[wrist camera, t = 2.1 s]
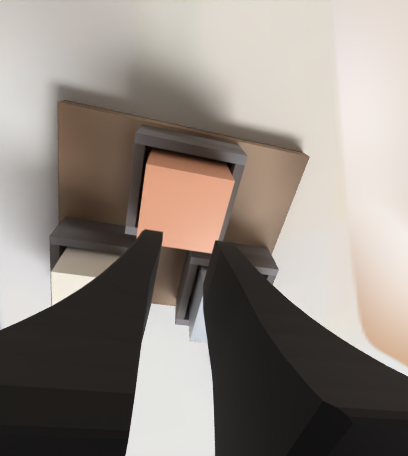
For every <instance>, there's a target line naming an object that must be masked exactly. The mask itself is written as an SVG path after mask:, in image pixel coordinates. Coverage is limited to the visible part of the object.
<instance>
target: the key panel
mask: <svg viewBox="0 0 408 456" xmlns="http://www.w3.org/2000/svg"><path fill="white" fill-rule="evenodd" d="M152 148H155V149H160V150H165V151H170V152H175V153H180V154H185V155H190V156H195V157H200V158H204V159H209V160H214V161H219V162H224V163H226V164H227V166H228V168H229V170H230V172H231V174H232V176H233V178H234V180H235V183H234V186H233V190H232V193H231V197H230V200H229V204H228V207H227V211H226V215H225V218H224V222H223V225H222V229H221V232H220V236H219V239H218V241H224V242H230V243H233V244H234V245H235V246H236V247H237V248H238V249H239V250H240V251H241V253H242V254H243V255H244V256H245V257H246V258H247V259H248V260H249V261H250V262H251V264H252V265H253V266H254V267H255V268H256V269H257V270H258V271H259V272H260V273H261V274H262V275H263V276H264V277H265V278H266V279H267V280H268V281H269V282H270V283H271V284H272V285H273V282H274V280H275V277H276V275H277V273H278V270H279V269H278V267H277V265H276V263H275V261H274V259H273V257H272V252H273V249H274V247H275V244H276V242H277V239H278V237H279V234H280V231H281V229H282V226H283V224H284V221H285V219H286V216H287V214H288V211H289V208H290V206H291V203H292V201H293V198H294V196H295V193H296V190H297V188H298V185H299V183H300V180H301V178H302V175H303V172H304V170H305V167H306V165H307V162H308V160H309V156H308V155H306V154H304V153H302V152H298V151H293V150H288V149H284V148H279V147H275V146H270V145H266V144H261V143H257V142H252V141H247V140H243V139H238V138H234V137H229V136H225V135H220V134H216V133H211V132H206V131H202V130H197V129H193V128H188V127H184V126H179V125H175V124H170V123H165V122H161V121H156V120H152V119H147V118H143V117H138V116H134V115H129V114H124V113H120V112H115V111H111V110H106V109H102V108H97V107H93V106H88V105H83V104H79V103H74V102H70V101H65V100H64V101H60V102H58V185H59V225H58V227H57V228H56V229H55V230H54V232H53V233H52V234H51V235H50V268H51V271H52V270H53V268H54V266H55V265H56V263H57V262H58V260H59V259H60V257H61V256H62V254H63V253H64V251H65V250H66V248H67V246H68V247H75V248H82V249H89V250H96V251H103V252H110V253H117V254H123V253H124V252H125V251H126V250H127V249H128V248H129V247H130V246H131V245H132V244H133V242H134V241H135V240H136V238H137V230H138V223H139V215H140V208H141V200H142V192H143V185H144V177H145V170H146V163H147V161H148V158H149V155H150V153H151V150H152ZM210 258H211V253H205V252H198V251H191V250H185V249H178V248H171V247H165V246H161V252H160V257H159V263H158V269H157V274H156V280H155V285H154V291H153V296H152V302H151V303H153V304H162V305H170V306H176V316H175V324H178V325H187V326H189V303H190V300H191V296H192V292H193V288H194V284H195V280H196V276H197V273H198V269H199V265H202V266H208V265H209V261H210ZM51 306H52V289H51Z"/></svg>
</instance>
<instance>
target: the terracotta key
mask: <svg viewBox="0 0 408 456" xmlns="http://www.w3.org/2000/svg"><path fill="white" fill-rule="evenodd" d="M234 183H235V180H234V178H233V176H232V174H231V172H230V170H229V168H228V166H227V164H226V163H224V162H219V161H214V160H209V159H204V158H200V157H195V156H190V155H185V154H180V153H175V152H170V151H165V150H160V149H155V148H152V150H151V153H150V155H149V158H148V161H147V163H146V170H145V177H144V185H143V192H142V200H141V208H140V215H139V223H138V230H137V238H138V236H139V235H140V233H141V232H142V231H143V230H145V229H148V230H154V231H161V232H163V241H162V246H165V247H171V248H178V249H185V250H191V251H198V252H205V253H211V254H212V250H213V247H214V243H215V240H218V239H219V236H220V232H221V229H222V225H223V222H224V218H225V215H226V211H227V207H228V204H229V200H230V197H231V193H232V190H233V186H234ZM137 238H136V239H137Z"/></svg>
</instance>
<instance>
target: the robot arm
mask: <svg viewBox="0 0 408 456" xmlns="http://www.w3.org/2000/svg"><path fill="white" fill-rule="evenodd" d="M162 241H163V232H161V231H154V230H148V229H145V230H143V231H142V232H141V233H140V235H139V236H138V238H137V239H136V240H135V241H134V242H133V244H132V245H131V246H130V247H129V248H128V249H127V250H126V251H125V252H124V253H123V254H122V255H121V256H120V257H119V258H118V259H117V260H116V261H115V262H114V263H113V264H111V265H110V266H109V267H108V268H107V269H106V270H105V271H103V272H102V273H101V274H100V275H98V276H97V277H96V278H94V279H93V280H92V281H90V282H89V283H88V284H86V285H85V286H83V287H82V288H80V289H79V290H77V291H76V292H74V293H72V294H71V295H69V296H68V297H66V298H64V299H63V300H61V301H59V302H58V303H56V304H54V305H53V306H51V307H49V308H47V309H45V310H43V311H41V312H39V313H37V314H35V315H33V316H31V317H29V318H27V319H24V320H22V321H20V322H18V323H16V324H14V325H11V326H9V327H7V328H4V329H2V330H0V456H125V454H126V449H127V444H128V438H129V432H130V425H131V418H132V411H133V404H134V397H135V389H136V381H137V373H138V365H139V358H140V350H141V343H142V339H143V335H144V331H145V327H146V323H147V318H148V314H149V310H150V306H151V302H152V296H153V291H154V285H155V280H156V274H157V269H158V263H159V257H160V252H161V246H162ZM203 313H204V321H205V328H206V335H207V342H208V349H209V355H210V362H211V370H212V380H213V399H214V426H215V456H408V376H406V375H404V374H402V373H400V372H398V371H396V370H394V369H392V368H390V367H388V366H386V365H384V364H383V363H381V362H379V361H377V360H376V359H374V358H372V357H371V356H369V355H367V354H365V353H364V352H362V351H360V350H358V349H357V348H355V347H354V346H352V345H350V344H349V343H347V342H346V341H344V340H342V339H341V338H339V337H338V336H336V335H335V334H333V333H332V332H331V331H329V330H328V329H326V328H325V327H323V326H322V325H320V324H319V323H317V322H316V321H315V320H313V319H312V318H311V317H309V316H308V315H307V314H306V313H304V312H303V311H302V310H301V309H299V308H298V307H297V306H295V305H294V304H293V303H292V302H291V301H289V300H288V299H287V298H286V297H285V296H284V295H283V294H282V293H280V292H279V291H278V290H277V289H276V288H275V287H274V286H273V285H272V284H271V283H270V282H269V281H268V280H267V279H266V278H265V277H264V276H263V275H262V274H261V273H260V272H259V271H258V270H257V269H256V268H255V267H254V266H253V265H252V264H251V262H250V261H249V260H248V259H247V258H246V257H245V256H244V255H243V254H242V253H241V251H240V250H239V249H238V248H237V247H236V246H235V245H234V244H233V243H230V242H224V241H218V240H215V243H214V247H213V250H212V254H211V258H210V261H209V265H208V268H207V272H206V276H205V279H204V283H203Z"/></svg>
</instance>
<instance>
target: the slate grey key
mask: <svg viewBox="0 0 408 456" xmlns="http://www.w3.org/2000/svg"><path fill="white" fill-rule="evenodd" d="M207 268H208V266H202V265H199V269H198V273H197V276H196V280H195V284H194V288H193V292H192V296H191V300H190V303H189V331H190V341H194V342H205V343H208V342H207V335H206V328H205V321H204V313H203V283H204V279H205V276H206V272H207Z"/></svg>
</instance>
